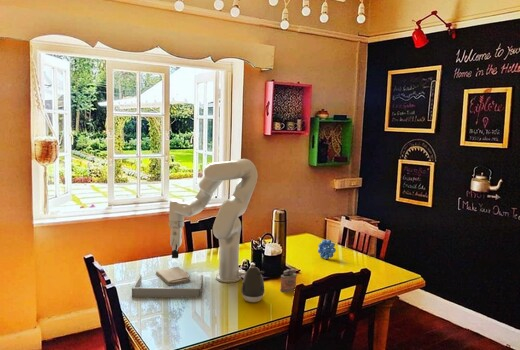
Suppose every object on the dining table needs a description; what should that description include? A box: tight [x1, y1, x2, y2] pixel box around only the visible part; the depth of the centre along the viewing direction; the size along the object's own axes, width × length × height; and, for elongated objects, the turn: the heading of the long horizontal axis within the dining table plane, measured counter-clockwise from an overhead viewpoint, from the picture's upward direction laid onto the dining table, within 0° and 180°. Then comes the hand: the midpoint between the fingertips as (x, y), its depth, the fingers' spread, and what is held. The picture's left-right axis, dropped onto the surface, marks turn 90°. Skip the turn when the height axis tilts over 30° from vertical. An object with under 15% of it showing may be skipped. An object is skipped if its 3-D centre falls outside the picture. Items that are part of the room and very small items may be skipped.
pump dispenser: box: [240, 266, 266, 303], centre depth 191 cm, size 10×10×15 cm
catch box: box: [131, 274, 204, 299], centre depth 199 cm, size 30×16×4 cm, turn 93°
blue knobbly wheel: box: [317, 238, 337, 260], centre depth 249 cm, size 12×7×12 cm, turn 48°
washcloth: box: [155, 266, 191, 287], centre depth 214 cm, size 12×18×3 cm, turn 35°
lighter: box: [279, 268, 298, 293], centre depth 203 cm, size 8×3×10 cm, turn 117°
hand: (175, 257), depth 225 cm, fingers closed
